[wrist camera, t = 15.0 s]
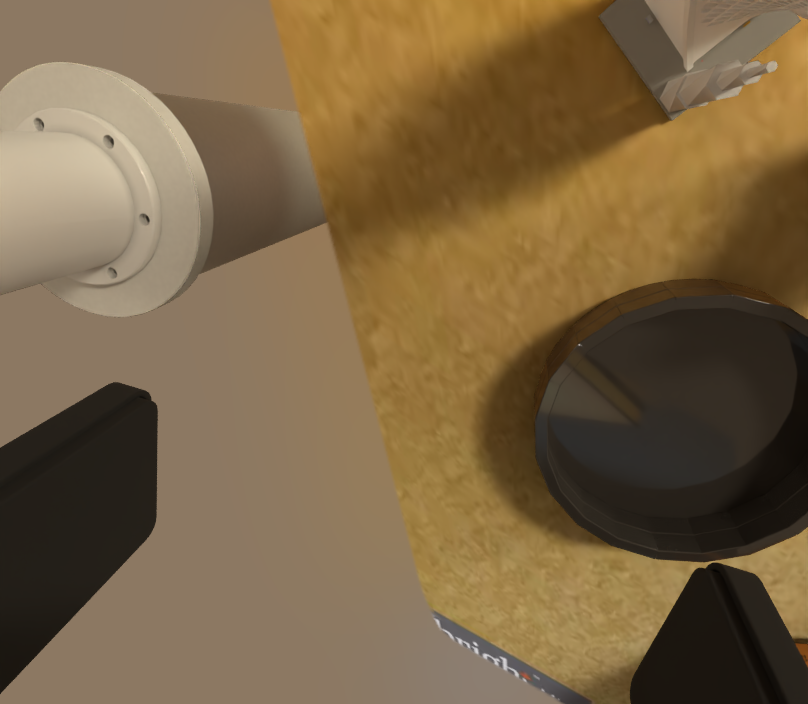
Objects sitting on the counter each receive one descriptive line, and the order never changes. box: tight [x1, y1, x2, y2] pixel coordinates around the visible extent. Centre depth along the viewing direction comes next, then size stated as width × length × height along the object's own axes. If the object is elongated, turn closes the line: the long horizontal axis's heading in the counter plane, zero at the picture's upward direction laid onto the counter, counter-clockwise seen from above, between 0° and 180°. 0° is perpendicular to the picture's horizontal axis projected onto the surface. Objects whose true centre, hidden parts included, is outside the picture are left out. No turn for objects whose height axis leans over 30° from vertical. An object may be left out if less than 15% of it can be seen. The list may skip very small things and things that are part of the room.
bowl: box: [534, 279, 808, 562], centre depth 34 cm, size 19×19×4 cm
